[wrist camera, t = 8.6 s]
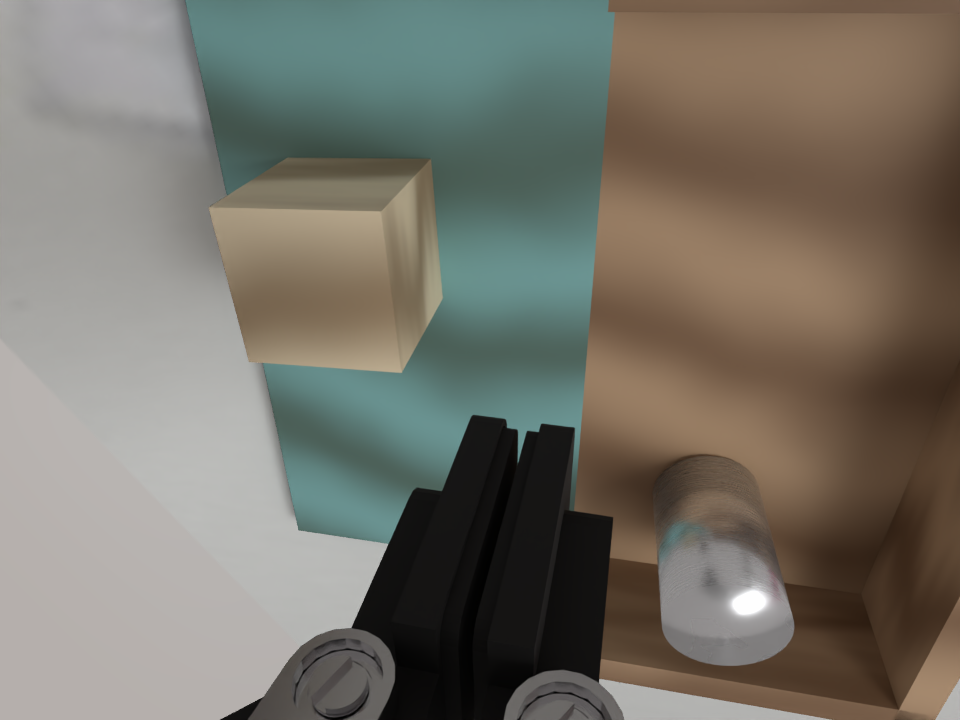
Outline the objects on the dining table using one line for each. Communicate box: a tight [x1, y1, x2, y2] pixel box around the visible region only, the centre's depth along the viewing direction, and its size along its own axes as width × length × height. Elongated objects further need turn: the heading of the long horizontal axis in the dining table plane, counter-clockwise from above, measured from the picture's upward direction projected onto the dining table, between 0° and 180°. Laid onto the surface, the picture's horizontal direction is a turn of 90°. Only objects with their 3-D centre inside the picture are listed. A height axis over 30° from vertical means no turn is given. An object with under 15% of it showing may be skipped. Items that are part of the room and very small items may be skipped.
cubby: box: [185, 0, 960, 720], centre depth 23 cm, size 24×26×6 cm
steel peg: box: [653, 456, 794, 666], centre depth 24 cm, size 4×4×6 cm
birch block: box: [208, 158, 443, 373], centre depth 22 cm, size 5×5×5 cm
